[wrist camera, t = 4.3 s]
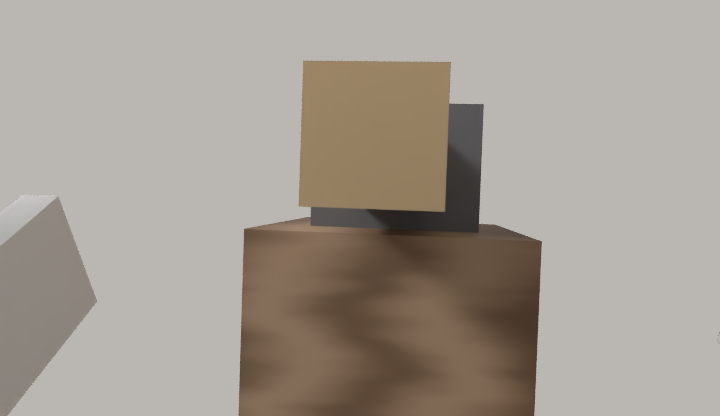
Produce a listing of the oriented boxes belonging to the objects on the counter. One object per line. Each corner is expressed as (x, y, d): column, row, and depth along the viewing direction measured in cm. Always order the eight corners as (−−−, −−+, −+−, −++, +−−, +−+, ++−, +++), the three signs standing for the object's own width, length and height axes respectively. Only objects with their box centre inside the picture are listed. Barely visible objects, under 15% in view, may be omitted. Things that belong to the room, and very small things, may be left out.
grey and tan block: (207, 253, 13) (214, 8, 13) (335, 219, 34) (338, 123, 34) (541, 269, 13) (552, 8, 12) (464, 224, 33) (467, 126, 33)
